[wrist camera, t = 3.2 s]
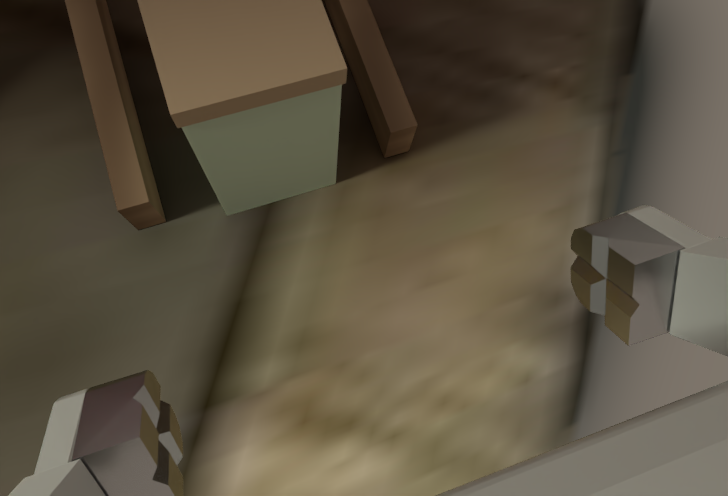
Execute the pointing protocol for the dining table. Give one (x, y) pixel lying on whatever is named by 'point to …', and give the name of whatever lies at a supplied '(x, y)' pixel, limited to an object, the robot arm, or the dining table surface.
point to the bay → (123, 126)
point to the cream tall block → (252, 92)
